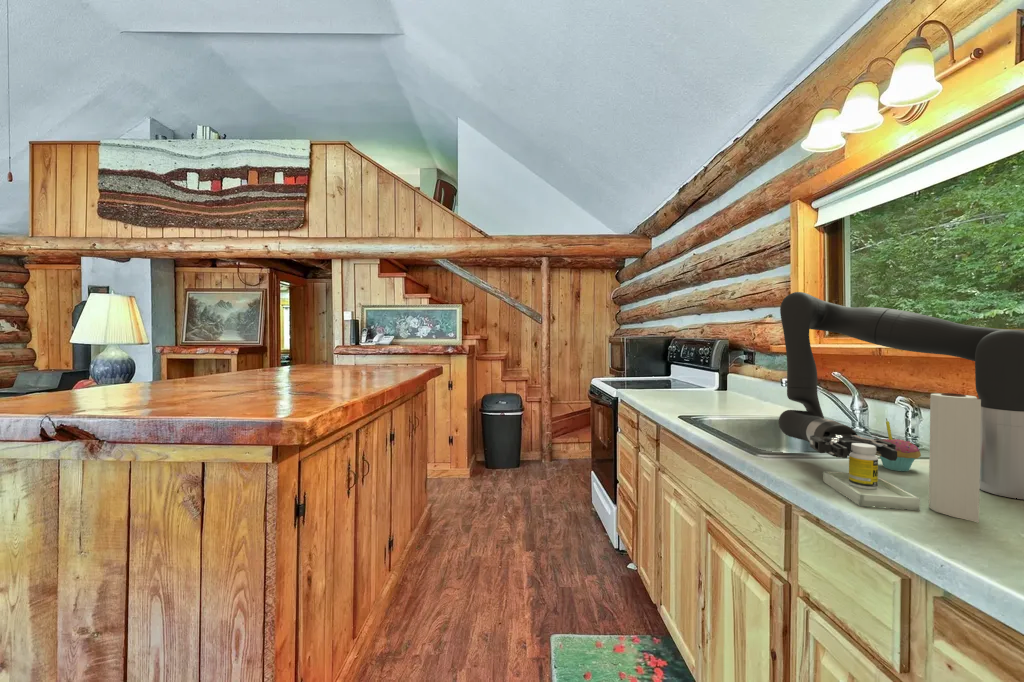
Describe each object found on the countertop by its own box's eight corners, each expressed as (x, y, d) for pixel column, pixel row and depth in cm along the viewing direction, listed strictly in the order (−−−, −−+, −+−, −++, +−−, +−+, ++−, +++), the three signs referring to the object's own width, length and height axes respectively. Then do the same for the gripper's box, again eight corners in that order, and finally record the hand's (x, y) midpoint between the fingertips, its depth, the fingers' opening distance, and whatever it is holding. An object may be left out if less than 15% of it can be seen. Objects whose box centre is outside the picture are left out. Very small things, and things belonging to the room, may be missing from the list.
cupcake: (878, 470, 108) (878, 420, 108) (870, 461, 116) (870, 414, 115) (925, 475, 104) (926, 423, 104) (913, 466, 112) (914, 417, 111)
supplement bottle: (878, 491, 90) (878, 449, 89) (848, 486, 92) (848, 445, 92) (877, 485, 93) (877, 444, 93) (848, 480, 96) (849, 441, 96)
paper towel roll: (927, 503, 87) (929, 391, 86) (972, 511, 83) (974, 394, 82) (930, 515, 81) (932, 395, 81) (978, 524, 77) (980, 398, 77)
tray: (873, 484, 98) (873, 474, 98) (919, 510, 83) (919, 498, 83) (822, 481, 100) (823, 471, 100) (859, 506, 85) (860, 494, 85)
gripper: (797, 419, 108) (829, 433, 92) (865, 422, 105) (911, 437, 89) (797, 451, 108) (829, 470, 92) (865, 454, 105) (910, 475, 89)
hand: (869, 454), depth 91 cm, fingers open, 8 cm apart
